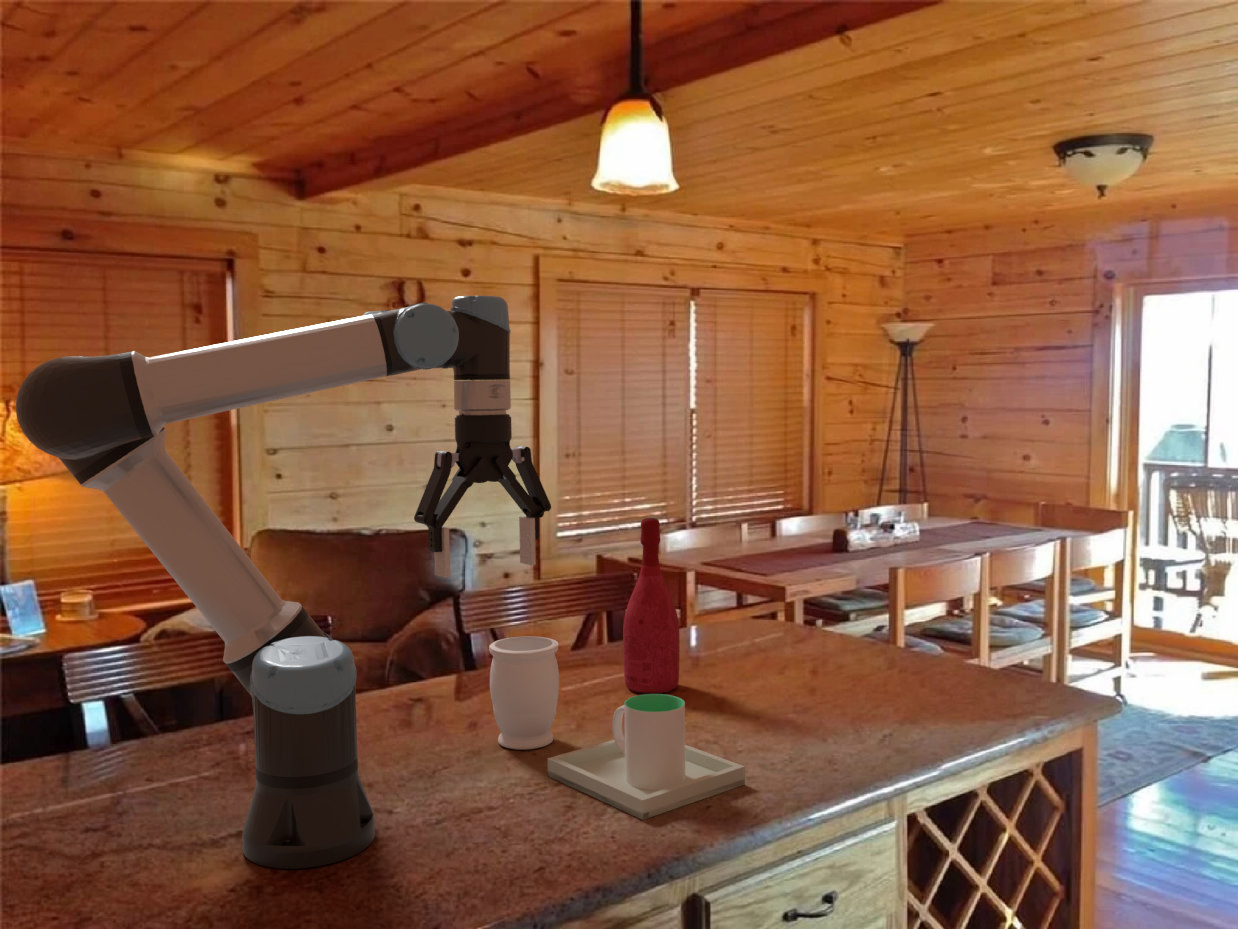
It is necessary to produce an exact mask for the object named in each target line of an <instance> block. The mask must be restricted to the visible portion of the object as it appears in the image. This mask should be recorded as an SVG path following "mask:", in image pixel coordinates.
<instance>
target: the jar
mask: <svg viewBox="0 0 1238 929" xmlns="http://www.w3.org/2000/svg"><path fill="white" fill-rule="evenodd" d="M488 651H489V653H490V655H491V656H492V661H491V664H490V672H489V692H490V693H489V694H490V699H491V703H492V708H493V710H492V711H493V716H494V719H495V722H496V725H497V728H498V729H499V731H500V734H499V735H498V738H497V742H498V744H499V745H500V746H502V747H504V748H506V749H511V750H519V751H522V750H524V751H525V750H526V751H527V750H536V749H539V748H544V747H546V746H548V745H550V744H551V743H553V741H554V735H553V733H552V731H551V728H552V727H553V724H554V722H555V719H556V714H557V708H558V700H559V693H560V673H559V672H560V671H559V666H558V661H557V658H556V653H558V651H559V642H558V641H557V640H555V639H553V638H549V637H545V636H544V637H543V636H533V635H532V636H527V635H525V636H514V637H513V636H511V637H506V638H501V639H498V640H495V641H493V642H490V644H489V649H488Z"/></svg>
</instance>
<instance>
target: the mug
mask: <svg viewBox="0 0 1238 929" xmlns="http://www.w3.org/2000/svg"><path fill="white" fill-rule="evenodd" d="M623 703H624V704H623V705H621V706H618V708H616V710H615V711H614V713H613V716H612V720H611V721H612V722H611V731H612V737H613V740H614V741H615V743H616V745H617V747H618V748H619V750H620V751H621V752H622V753H624V754H625V780H626V782H627V783H628V784H629V785H631V786H634V787H636V788H641V789H647V790H663V789H666V788H669V787H672V786H675V785H678V784H681V783H684V782H685V745H686V702H685V700H684V699H682V698H681V697H679V696H674V695H671V694H664V693H656V694H647V693H644V694H638V695H634V696H632V697H628V698H627V699H626V700H625V701H624V702H623ZM623 716H624V731H623ZM624 737H625V739H624Z"/></svg>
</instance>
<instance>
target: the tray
mask: <svg viewBox="0 0 1238 929" xmlns="http://www.w3.org/2000/svg"><path fill="white" fill-rule="evenodd" d="M624 739H625V736H624ZM547 777H549V778H551V779H553V780H556V781H557V782H560V783H561V784H564V785H565V786H568V787H571V788H573V789H574V790H577V791H579V792H581V793H583V794H585V795H587V796H590V797H592V798H594V799H596V800H598V801H601V802H602V803H606V804H607V805H609V806H611V807H613V808H616V809H618V810H620V811H623V812H625V813H626V814H628V815H631V816H632V817H636V818H637V819H639V820H642V821H644V820H647V819H649V818H653V817H655V816H658V815H661V814H664V813H667V812H669V811H672V810H675V809H679V808H681V807H685V806H687V805H690V804H693V803H696V802H699V801H701V800H705V799H708V798H710V797H713V796H715V795H719V794H722V793H725V792H729V791H731V790H733V789H736V788H739V787H742V786H745V784H746V766H745V765H742V764H740V763H736V762H733V761H731V760H729V759H726V758H723V757H720V756H718V755H715V754H712V753H709V752H706V751H704V750H701V749H698V748H696V747H692V746H690V745H687V744H685V782H684V783H681V784H678V785H675V786H672V787H669V788H666V789H663V790H647V789H641V788H636V787H634V786H631V785H629V784H628V783H627V782H626V780H625V754H624V753H622V752H621V751H620V750H619V748H618V747H617V745H616V743H615V741H614V739H612V740H608V741H605V742H602V743H598V744H593V745H590V746H587V747H584V748H580V749H576V750H573V751H569V752H566V753H562V754H561V753H560V754H557V755H555V756H551V757H548V758H547Z"/></svg>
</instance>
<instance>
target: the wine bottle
mask: <svg viewBox="0 0 1238 929" xmlns="http://www.w3.org/2000/svg"><path fill="white" fill-rule="evenodd" d="M660 527H661V526H660V520H659V519H658V518H655V517H645V518H643V519H642V520H641V521H640V544H641V545H642V560H641V566H640V567H641V568H640V573H639V576H638V578H637V581H636V583H635V587H634V588H633V591H632V594H631V595H630V598H629V601H628V603H627V607H626V609H625V614H624V618H623V627H622V628H623V629H622V630H623V631H622V633H623V634H622V636H623V637H622V638H623V639H622V642H623V643H622V646H623V647H622V650H623V651H622V652H623V674H624V676H623V677H624V683H625V686H626V688H627V689H629V690H630V691H632V692H636V693H640V694H664V693H667V692H671V691H673V690H674V689H676V688H677V687H678V686H679V680H680V652H681V651H680V649H681V648H680V647H681V646H680V644H681V643H680V623H679V617H678V613H677V609H676V606H675V603H674V601H673V599H672V595H671V594H670V591H669V590H668V587H667V584H666V583H665V579H664V577H663V575H662V572H661V566H660V560H659V545H660V543H661V531H660V529H661V528H660Z"/></svg>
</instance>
